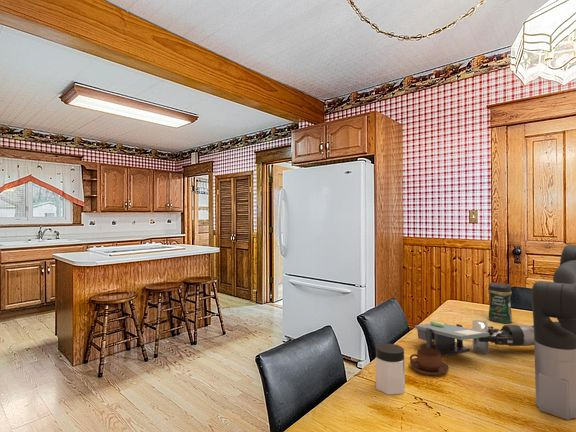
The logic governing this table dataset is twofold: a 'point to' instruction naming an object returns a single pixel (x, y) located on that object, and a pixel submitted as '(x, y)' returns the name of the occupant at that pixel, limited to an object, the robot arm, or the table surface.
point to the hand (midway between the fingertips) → (474, 335)
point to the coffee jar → (500, 302)
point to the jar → (390, 369)
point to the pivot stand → (445, 343)
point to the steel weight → (477, 345)
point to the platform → (449, 331)
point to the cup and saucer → (428, 362)
